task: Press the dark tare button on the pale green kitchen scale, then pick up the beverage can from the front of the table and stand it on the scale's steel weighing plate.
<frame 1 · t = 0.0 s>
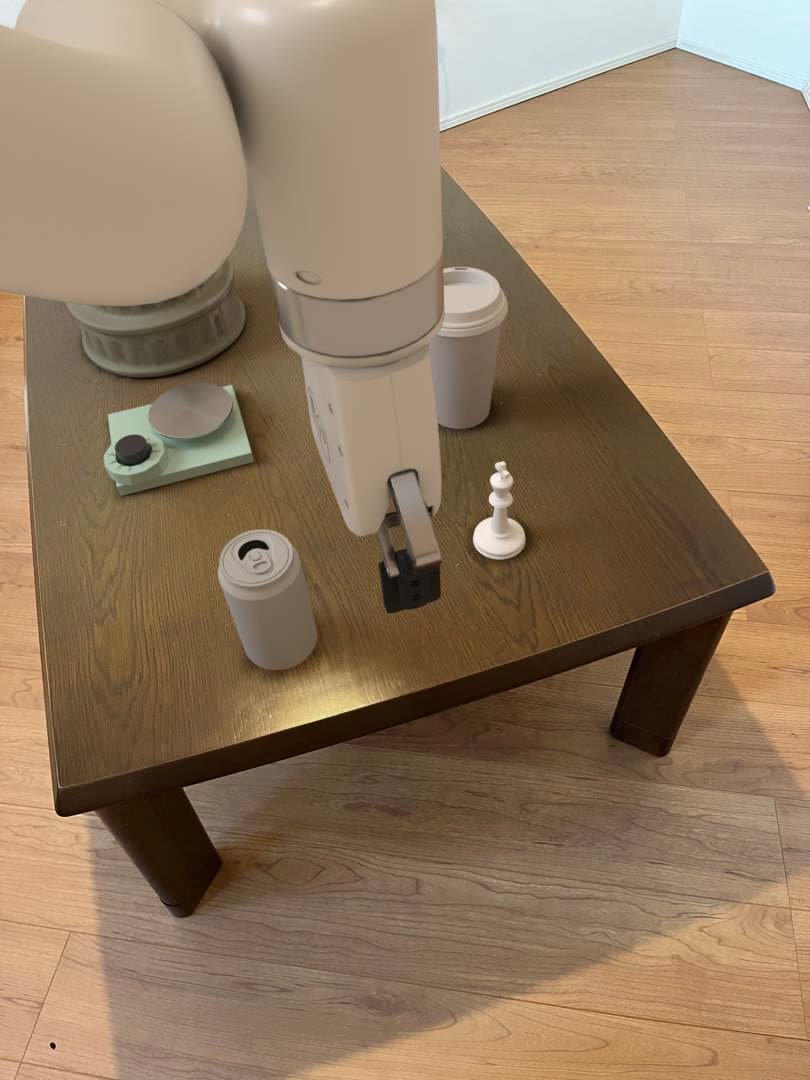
hand: (387, 541, 50), 22 cm above the table, tool pointing down, fingers open, 9 cm apart
tare button: (132, 450, 85), point 3 cm above the table, slide at 0.1 cm
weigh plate: (190, 411, 89), resting on scale
coaster: (360, 248, 115), on the table
coffee cup: (459, 410, 91), on the table
beverage can: (282, 644, 72), on the table
scale: (180, 442, 90), on the table
dome: (166, 330, 104), on the table
chess piece: (499, 541, 79), on the table
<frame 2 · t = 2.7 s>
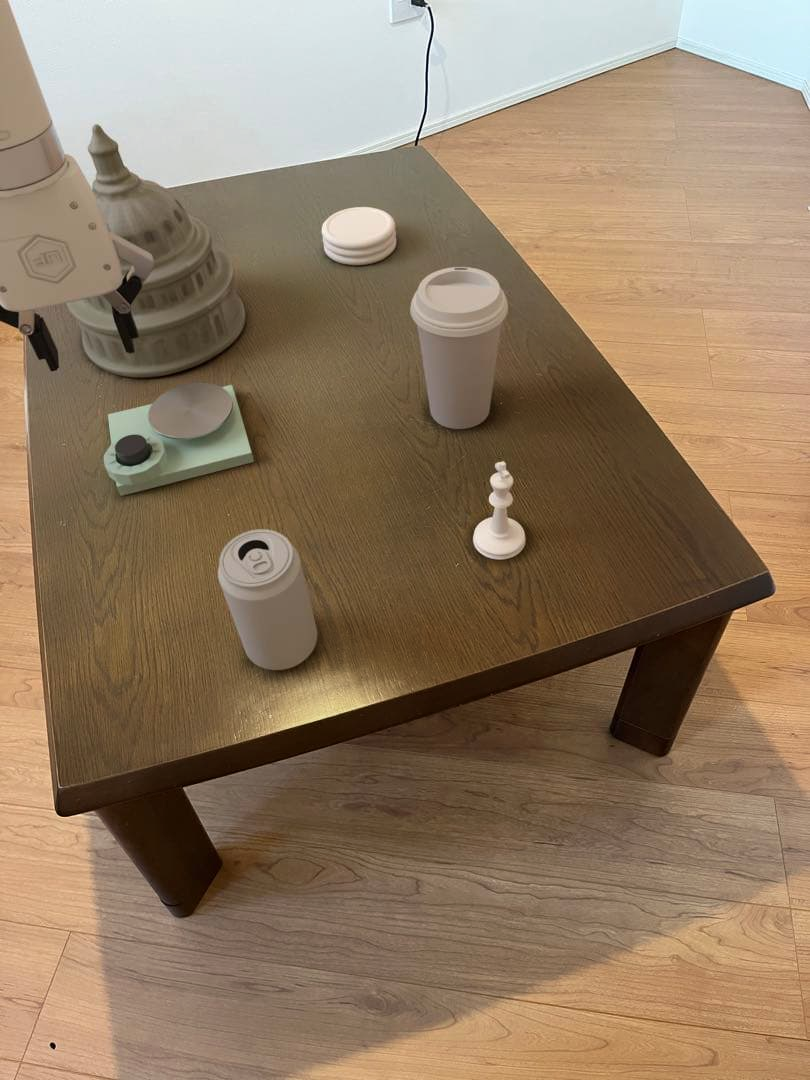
hand: (91, 351, 75), 16 cm above the table, tool pointing down, fingers open, 6 cm apart
nothing on the table moved.
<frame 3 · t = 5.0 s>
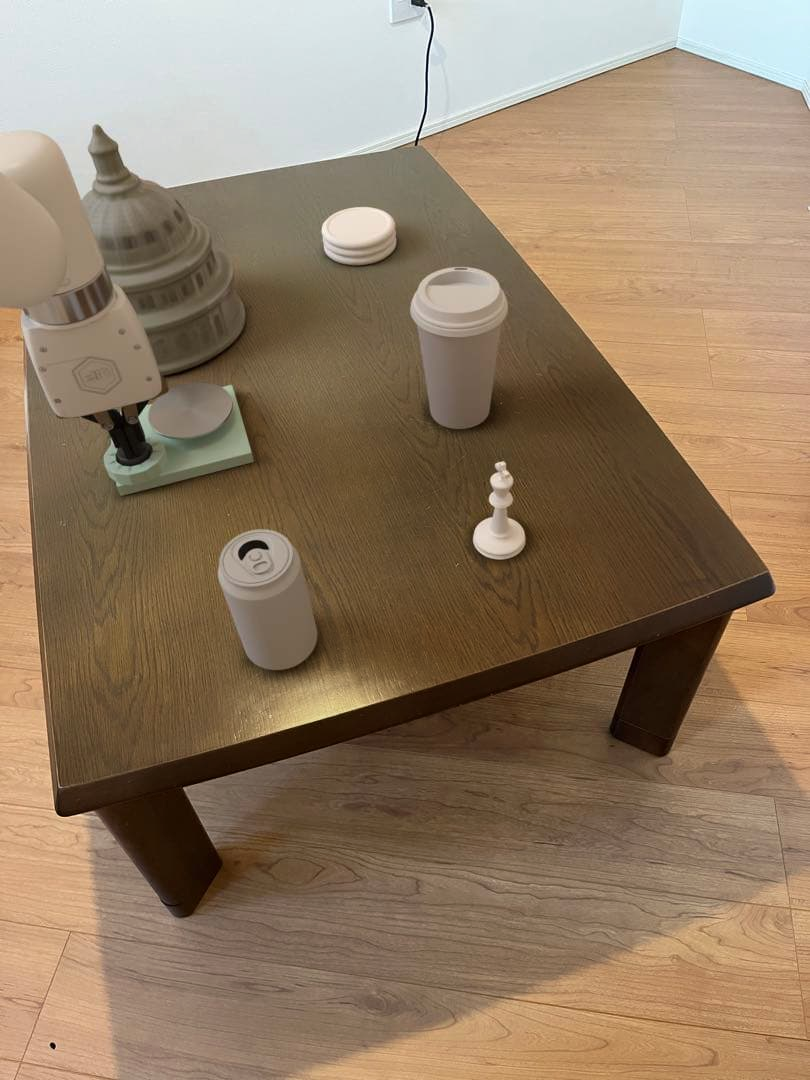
hand: (133, 447, 85), 4 cm above the table, tool pointing down, fingers closed
tare button: (134, 454, 85), point 3 cm above the table, slide at -0.5 cm, touching gripper
everything else where it was.
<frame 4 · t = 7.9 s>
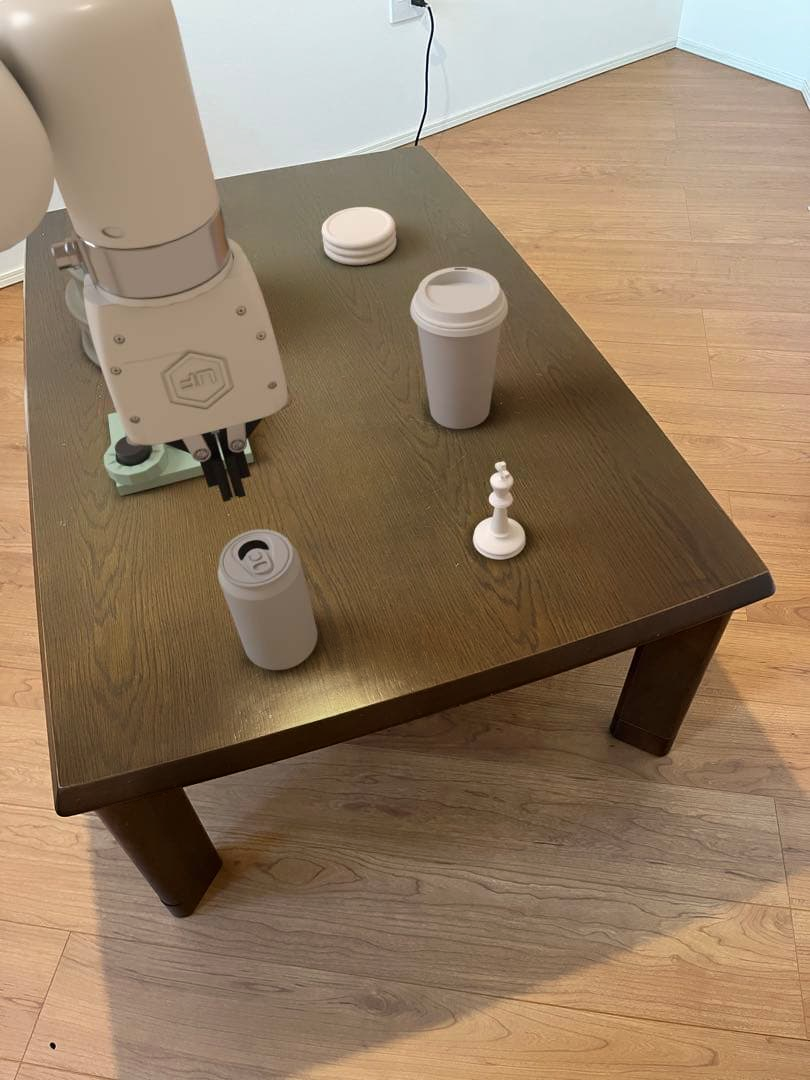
hand: (231, 485, 58), 19 cm above the table, tool pointing down, fingers closed
tare button: (132, 450, 85), point 3 cm above the table, slide at 0.1 cm
everything else where it was.
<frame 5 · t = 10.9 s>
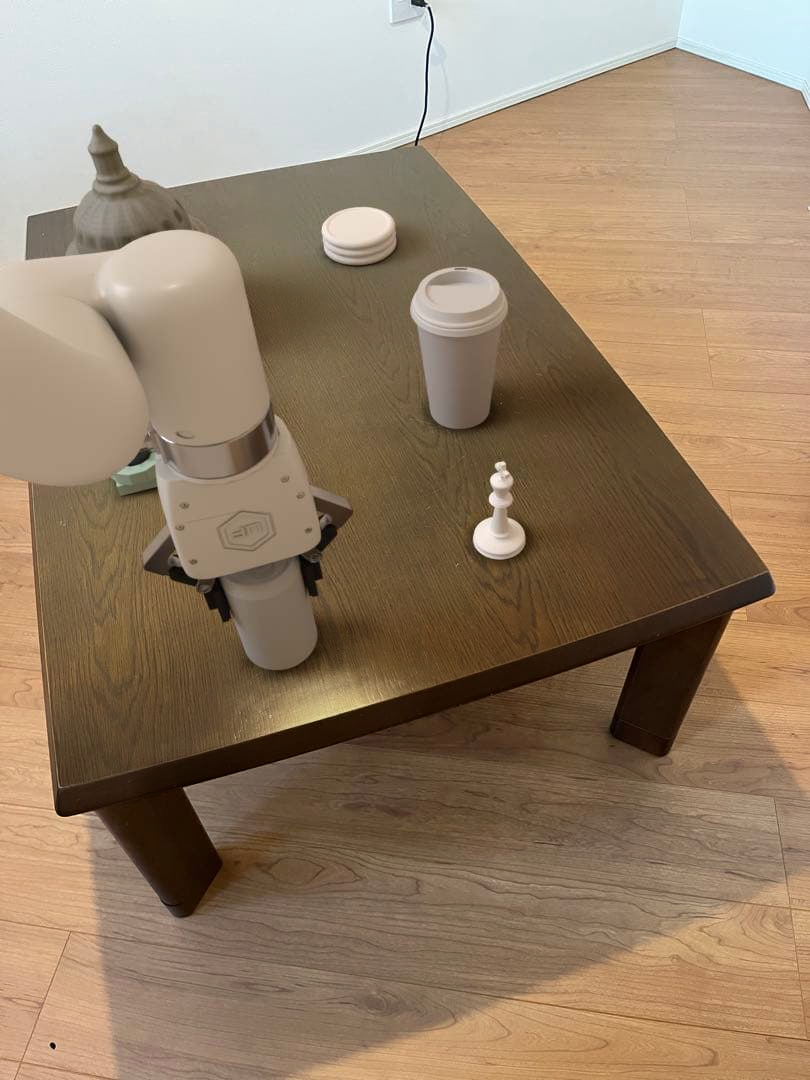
hand: (267, 594, 67), 7 cm above the table, tool pointing down, fingers closed on beverage can, 6 cm apart
beverage can: (282, 644, 72), on the table, touching gripper
everything else where it was.
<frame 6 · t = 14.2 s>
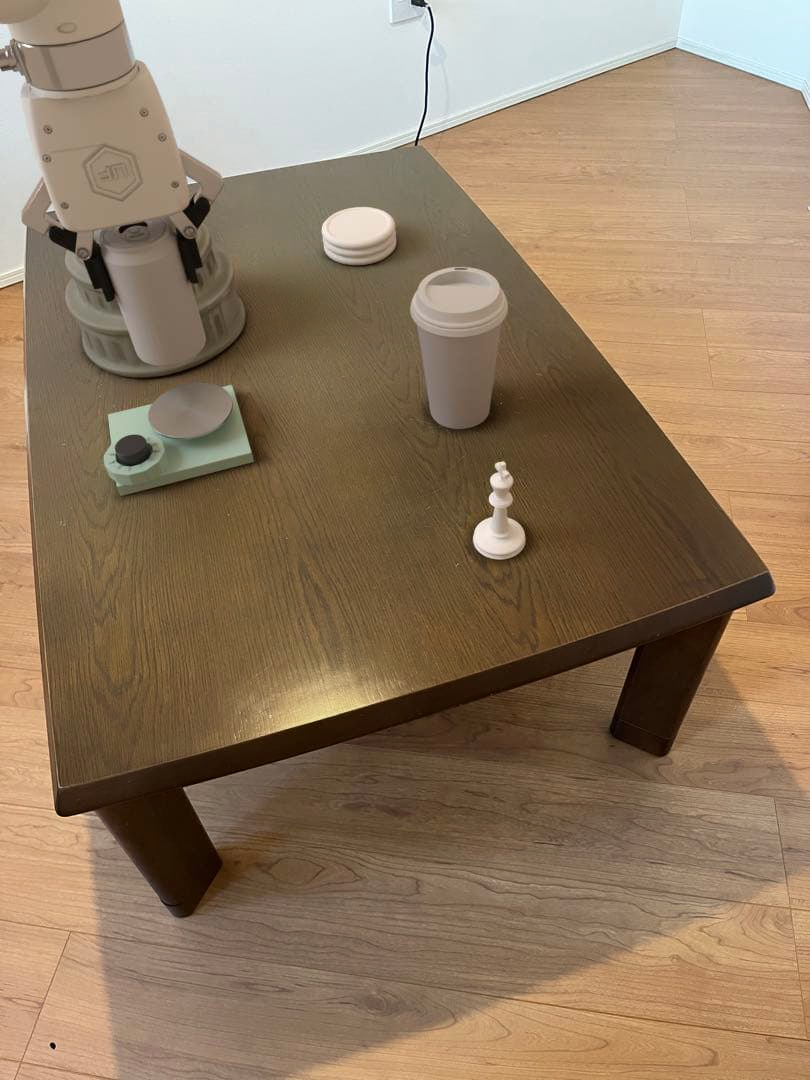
hand: (151, 282, 71), 22 cm above the table, tool pointing down, fingers closed on beverage can, 6 cm apart
beverage can: (174, 352, 77), point 14 cm above the table, touching gripper
everything else where it was.
when the fingers open (10 cm above the table, at t = 17.7 s): beverage can stays where it is, resting on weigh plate.
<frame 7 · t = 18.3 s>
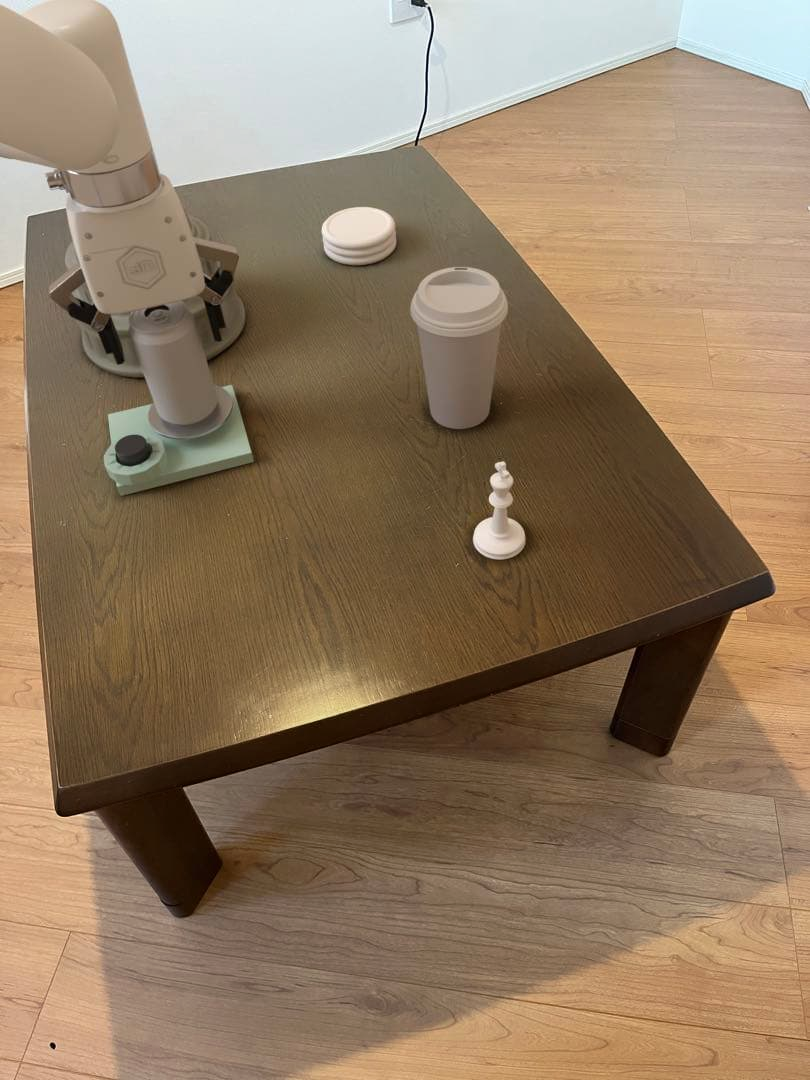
hand: (168, 345, 82), 12 cm above the table, tool pointing down, fingers open, 9 cm apart
beverage can: (189, 410, 89), point 3 cm above the table, touching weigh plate
everything else where it was.
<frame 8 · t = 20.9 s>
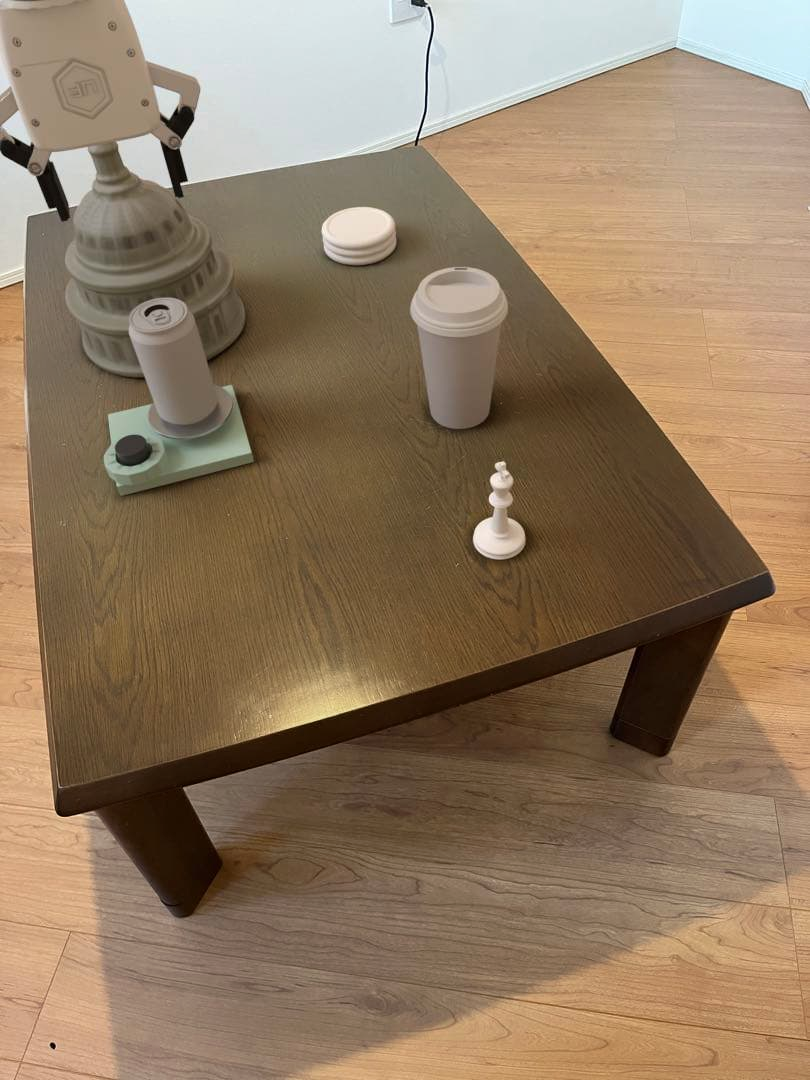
hand: (122, 202, 71), 26 cm above the table, tool pointing down, fingers open, 9 cm apart
nothing on the table moved.
at the end: tare button pushed in 0.9 cm at the most during the clip, back to where it started at the end; beverage can 0.1 cm from the target spot on the scale, point 3.1 cm above the scale's base; beverage can tilted 0° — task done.
